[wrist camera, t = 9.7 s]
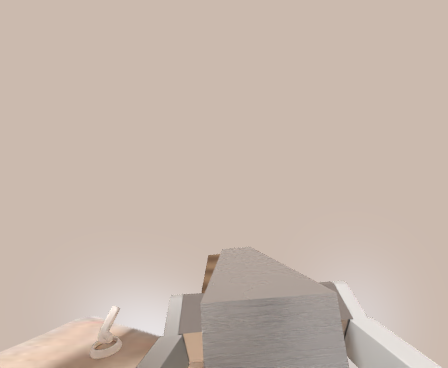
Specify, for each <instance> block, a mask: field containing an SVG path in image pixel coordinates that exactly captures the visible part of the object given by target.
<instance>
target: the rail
mask: <svg viewBox="0 0 448 368" xmlns="http://www.w3.org/2000/svg"><path fill="white" fill-rule="evenodd" d="M200 305H201V324H202V342H203V361H204V368H349V365H348V359H347V353H346V347H345V341H344V335H343V329H342V322H341V316H340V310H339V304H338V298H337V292H335V291H333V290H331V289H329V288H327V287H325V286H323V285H322V284H320V283H318V282H316V281H314V280H312V279H310V278H308V277H306V276H304V275H302V274H301V273H299V272H297V271H295V270H293V269H291V268H289V267H287V266H285V265H284V264H282V263H280V262H278V261H276V260H274V259H272V258H270V257H268V256H267V255H265V254H263V253H261V252H259V251H257V250H255V249H253V248H251V247H245V248H232V249H222V251H221V254H220V256H219V259H218V261H217V264H216V266H215V269H214V271H213V274H212V276H211V279H210V281H209V283H208V286H207V288H206V291H205V293H204V296H203V298H202V301H201V303H200Z"/></svg>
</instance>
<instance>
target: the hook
mask: <svg viewBox="0 0 448 368" xmlns="http://www.w3.org/2000/svg"><path fill="white" fill-rule="evenodd" d="M119 310H120V308H119V307H117V306H113V307H112V308H111V310H110V312H109V314H108V316H107V317H106V319H105V321H104V323H103V325H102V327H101V329H100V331H99V334H98V341H96V342H95V343H94V344H93V346H92V348H91V350H90V357H91V358H93V359H101V358H105V357H108V356H110V355H112V354H114V353H116V352H117V351H118V350H119V349H120V348H121V346H122V342H121V340H120V339H119V337H117V336H113V335H112V333H111V332H109V330H110V328H111V326H112V324H113V322H114V320H115V318H116V316H117V314H118V312H119ZM111 341H117V342H116V343H115V344H114V345H113V346H111V347H109V348H106V349H103V350H96V349H94V348H96V347H97V346H99V345H100V344H103V343H105V344H108V343H110V342H111Z"/></svg>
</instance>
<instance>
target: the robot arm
mask: <svg viewBox="0 0 448 368" xmlns="http://www.w3.org/2000/svg"><path fill="white" fill-rule="evenodd" d="M320 284H322V285H323V286H325V287H327V288H329V289H331V290H333V291H335V292H337V298H338V304H339V310H340V316H341V322H342V329H343V335H344V341H345V347H346V353H347V356H348V358H349V359H351V361H352V362H353V363H354V364H355V365H356V366H357V367H358V368H442V367H440V366H439V365H437V364H436V363H434V362H433V361H432V360H431V359H429V358H428V357H426V356H425V355H424V354H422V353H421V352H419V351H418V350H417V349H415V348H414V347H412V346H411V345H409V344H408V343H407V342H405V341H404V340H403V339H401V338H400V337H398V336H397V335H396V334H394V333H393V332H391V331H390V330H389V329H387V328H386V327H384V326H383V325H382V324H380V323H379V322H377V321H376V320H375V319H373V318H368V317H367V315H366V313H365V312H364V311H363V309H362V307H361V306H360V304H359V302H358V301H357V299H356V298H355V296H354V294H353V293H352V291H351V289H350V288H349V286H348V284H347V283H346V282H345V281H334V282H321V283H320ZM203 296H204V293H200V294H182V295H172V296H171V297H170V300H169V306H168V312H167V319H166V324H165V330H164V336H160V337H159V338H158V339H157V341H156V342H155V343H154V345H153V346H152V347H151V349H150V350H149V351H148V353H147V354H146V355H145V357H144V358H143V359H142V360H141V362H140V363H139V364H138V366H137V367H136V368H188V366H189V363H192V362H200V361H203V342H202V324H201V305H200V303H201V301H202V298H203Z"/></svg>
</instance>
